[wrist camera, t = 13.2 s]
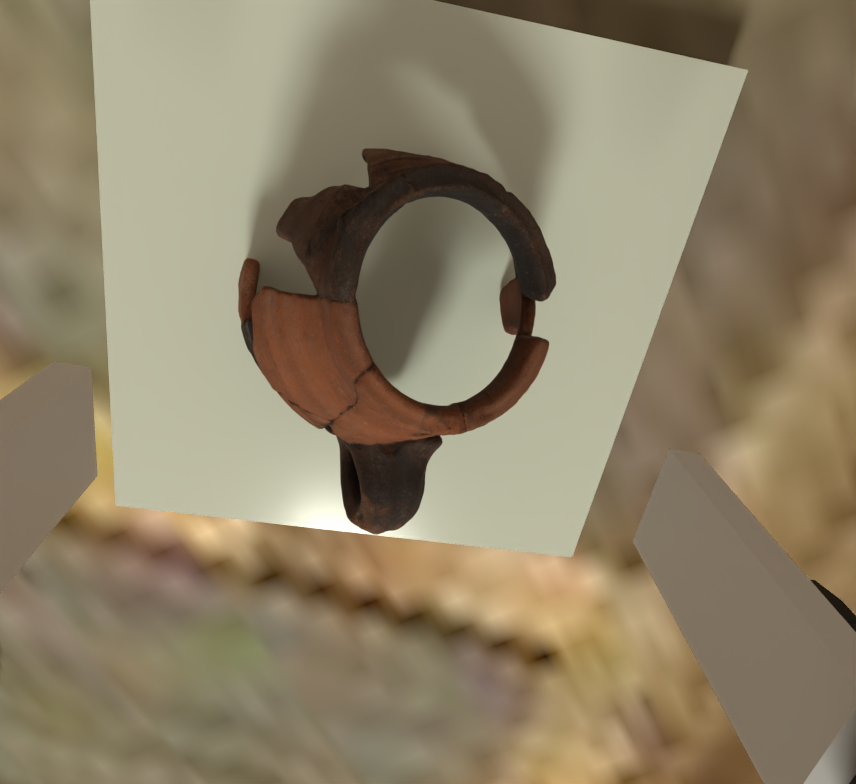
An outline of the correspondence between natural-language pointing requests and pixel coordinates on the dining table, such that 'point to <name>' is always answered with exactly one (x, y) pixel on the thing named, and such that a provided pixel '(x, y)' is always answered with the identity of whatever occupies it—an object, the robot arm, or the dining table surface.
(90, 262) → the dining table surface
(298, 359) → the pottery mug
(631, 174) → the sage tile
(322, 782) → the dining table surface
